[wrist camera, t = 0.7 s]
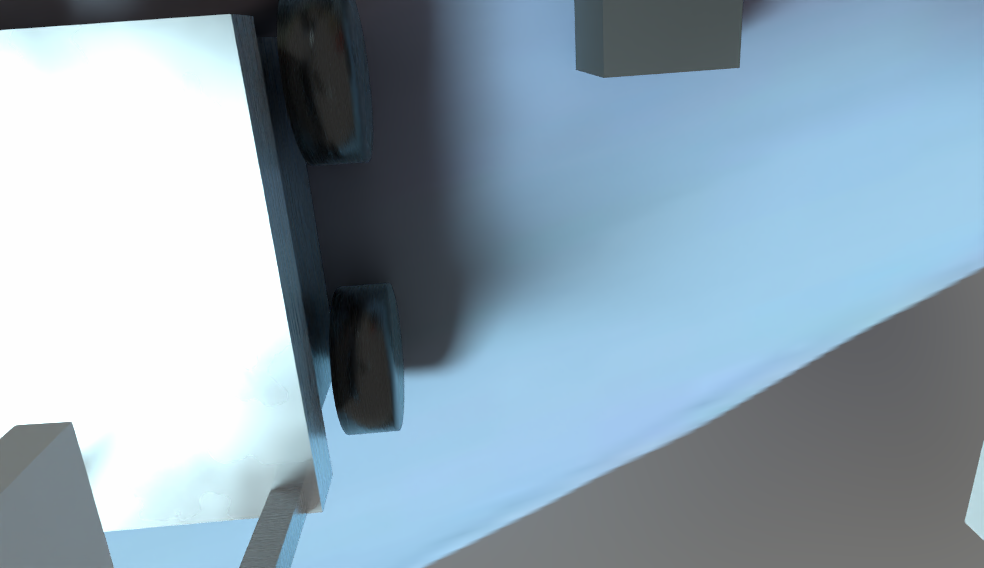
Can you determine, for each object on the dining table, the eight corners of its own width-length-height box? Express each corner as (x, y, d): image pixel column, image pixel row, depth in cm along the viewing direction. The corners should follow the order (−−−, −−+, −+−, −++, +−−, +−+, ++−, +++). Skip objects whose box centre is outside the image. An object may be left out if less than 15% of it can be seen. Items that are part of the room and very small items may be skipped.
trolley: (-43, 17, 26) (-2049, -52, 5) (358, -11, 26) (3, -180, 6) (80, 413, 32) (-622, 1128, 11) (407, 385, 32) (323, 1025, 11)
